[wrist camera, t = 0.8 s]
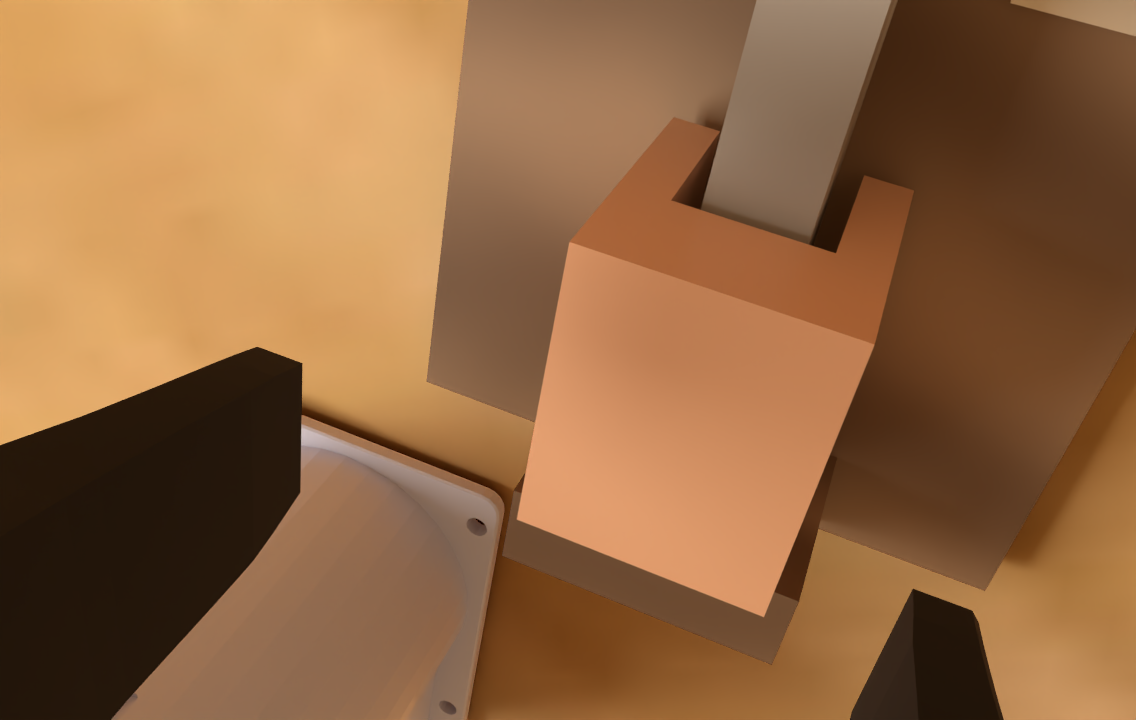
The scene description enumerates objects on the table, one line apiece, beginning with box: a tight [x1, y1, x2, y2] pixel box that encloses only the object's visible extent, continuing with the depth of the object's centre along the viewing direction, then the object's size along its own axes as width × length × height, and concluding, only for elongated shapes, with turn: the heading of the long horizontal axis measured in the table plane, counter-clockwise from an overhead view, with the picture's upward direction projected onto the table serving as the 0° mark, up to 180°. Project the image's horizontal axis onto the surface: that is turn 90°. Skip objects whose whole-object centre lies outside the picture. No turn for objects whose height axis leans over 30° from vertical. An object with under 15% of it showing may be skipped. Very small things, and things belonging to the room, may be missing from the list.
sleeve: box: [517, 117, 914, 617], centre depth 17 cm, size 5×4×5 cm
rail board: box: [427, 0, 1136, 665], centre depth 16 cm, size 18×12×5 cm, turn 170°
